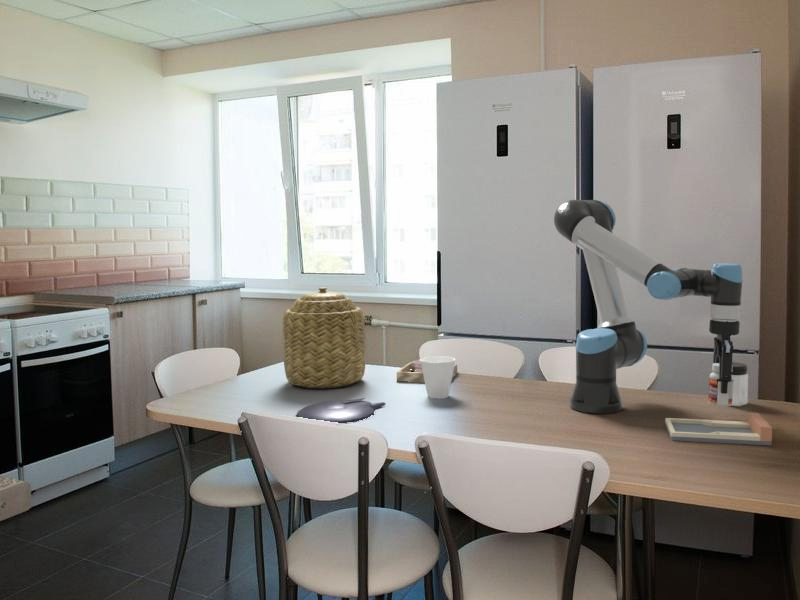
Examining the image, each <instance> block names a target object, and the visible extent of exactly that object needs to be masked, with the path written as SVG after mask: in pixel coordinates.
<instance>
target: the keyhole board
mask: <svg viewBox="0 0 800 600" xmlns="http://www.w3.org/2000/svg"><path fill="white" fill-rule="evenodd" d="M664 425H665V428H666V430H667V433H668V435H669V438H670V439H671V441H684V442H701V443H718V444H734V445H736V444H737V445H738V444H739V445H754V446H755V445H756V446H757V445H759V446H772V441H773V427H772V426H771V424H769V423H768V422H767V421H766V420H765V419H764V417H763V416H762V415H761V414H760V413H759V412H747V421H743V420H742V421H741V420H738V421H737V420H720V419H719V420H718V419H717V420H716V419H698V418H697V419H696V418H695V419H694V418H675V417H674V418H672V417H665V418H664Z"/></svg>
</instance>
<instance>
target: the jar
mask: <svg viewBox="0 0 800 600" xmlns="http://www.w3.org/2000/svg"><path fill="white" fill-rule="evenodd" d="M732 366H733V368H732V375H733V377H734V381H733V397H732V405H731V406H730V407H742V406H745V405H747V404H748V402H749V401H748V400H749V399H748V398H749V397H748V395H749V373H747V372H748V368H747V367H748V365H747V364H745V363H742V362H735V361H732Z"/></svg>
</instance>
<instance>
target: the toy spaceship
mask: <svg viewBox="0 0 800 600" xmlns="http://www.w3.org/2000/svg"><path fill="white" fill-rule="evenodd" d="M365 399H366V397H364V398H363V397H362V398H356V399H341V400H331V401H323V402H322V401H321V402H317V403H314V404H310V405H306V406H305V407H303V408H301V409H299V410H298V411H297V413H296V414H297V415H296V414H295V417H296V416H297V417H303V418H308V419H316V420H324V421H330V422H338V423H345V424H348V423H347V422H353V423H357V421H358V422H360V421H359V420H362V421H364V420H363V419H365V418H366V419H365V420H368V419H369V418H368V417H370V416H371V415H373V416H374V415H375V414H374V411H375V412H376V409H379V408H381V407H383V406H385V405H386V402H383V401H382V402H374V403H372V402H370V401H367V400H365ZM367 418H368V419H367ZM370 418H371V417H370Z"/></svg>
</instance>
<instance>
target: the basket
mask: <svg viewBox="0 0 800 600" xmlns="http://www.w3.org/2000/svg"><path fill="white" fill-rule="evenodd" d="M318 290H319V291H315V292H308V293H304V294H303V295H301V297H300V298H296V299H295V300H294V302H293V303H292V305H291V307H290V308H289V309H287V310H286V311H285V312H284V313H283V317H282V318H283V319H282V353H283V355H282V356H283V357H282V358H283V366H284V367H283V368H284V372H285V377H286V379H287V381H288V382H289V383H290V384H292V385H295V386H297V385H298V387H300V386H302V387H301V388H304V387H308V388H307V389H312V388H328V389H335V388H334V387H338V388H343V387H342V386H344V387H347V385H348V386H350V384H351V385H353V384H355V383H357V382H359V381H361V380H362V379H363V377H364V375H365V371H366V361H367V360H366V359H367V356H366V355H367V351H366V349H367V346H366V345H367V344H366V339H367V338H366V327H365V323H366V322H365V317H364V312H363V310H362V308H360V307H358V306H356V305H355V302H354V301H353V300H352V298H350V297H347V296H345V294H343V293H341V292H335V291H327V290H328V288H327V287H325V286H323V287H321V286H320V287H318Z"/></svg>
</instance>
